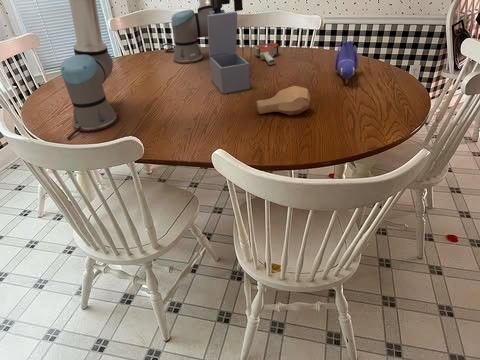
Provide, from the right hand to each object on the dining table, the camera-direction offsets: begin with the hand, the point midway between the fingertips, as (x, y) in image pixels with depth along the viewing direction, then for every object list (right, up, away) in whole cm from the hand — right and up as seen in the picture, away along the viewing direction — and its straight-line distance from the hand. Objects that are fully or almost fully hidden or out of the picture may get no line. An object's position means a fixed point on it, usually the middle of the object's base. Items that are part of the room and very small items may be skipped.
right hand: (217, 24), depth 153 cm
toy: (+56, -22, +3) cm, 60 cm away
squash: (+26, -42, -21) cm, 53 cm away
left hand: (+7, -6, -28) cm, 30 cm away
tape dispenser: (+23, -4, +31) cm, 39 cm away
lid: (+2, -6, -3) cm, 7 cm away
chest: (+5, -25, +4) cm, 26 cm away
